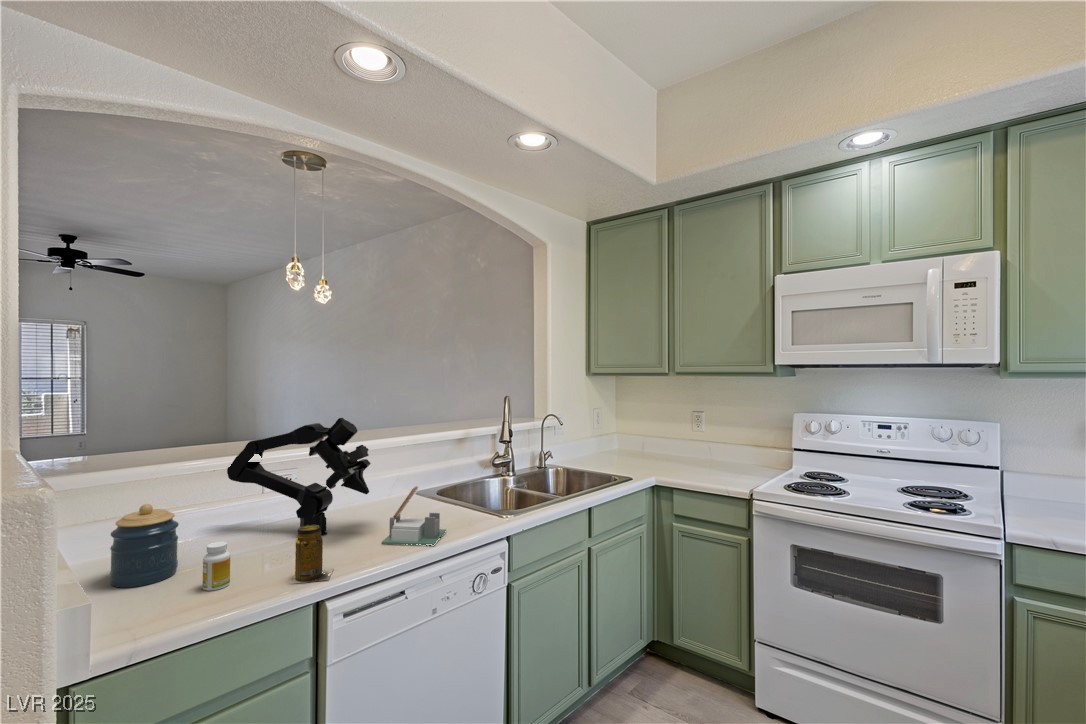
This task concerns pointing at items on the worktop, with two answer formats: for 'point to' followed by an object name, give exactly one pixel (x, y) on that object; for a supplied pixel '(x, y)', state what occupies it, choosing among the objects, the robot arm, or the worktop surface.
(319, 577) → the condiment
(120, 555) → the canister
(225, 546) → the supplement bottle
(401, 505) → the brown thin bar
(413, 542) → the circuit board module
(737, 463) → the worktop surface
